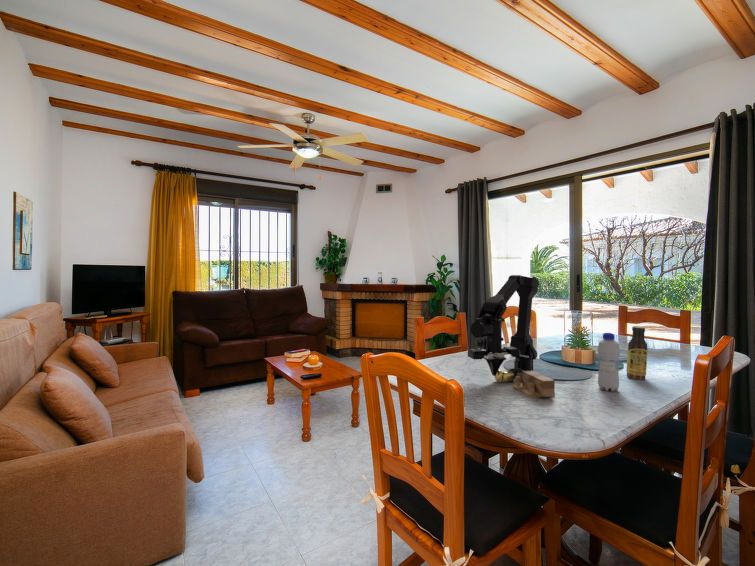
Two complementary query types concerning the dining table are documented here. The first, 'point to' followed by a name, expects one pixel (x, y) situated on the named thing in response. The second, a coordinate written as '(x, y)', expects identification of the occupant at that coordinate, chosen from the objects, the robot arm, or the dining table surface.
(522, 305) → the robot arm
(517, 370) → the keeper
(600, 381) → the bottle
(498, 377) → the brass bolt
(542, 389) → the walnut bar
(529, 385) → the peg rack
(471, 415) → the dining table surface
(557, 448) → the dining table surface
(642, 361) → the sauce bottle
